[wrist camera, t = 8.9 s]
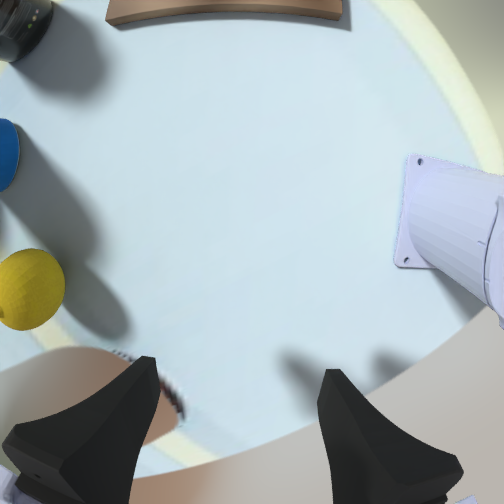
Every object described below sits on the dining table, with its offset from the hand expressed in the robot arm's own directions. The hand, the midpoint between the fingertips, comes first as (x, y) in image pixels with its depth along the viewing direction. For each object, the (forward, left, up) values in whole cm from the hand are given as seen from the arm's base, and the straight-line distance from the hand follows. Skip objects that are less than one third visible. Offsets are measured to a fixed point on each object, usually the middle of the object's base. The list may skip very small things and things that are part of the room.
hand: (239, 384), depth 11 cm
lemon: (+16, 0, -10) cm, 19 cm away
